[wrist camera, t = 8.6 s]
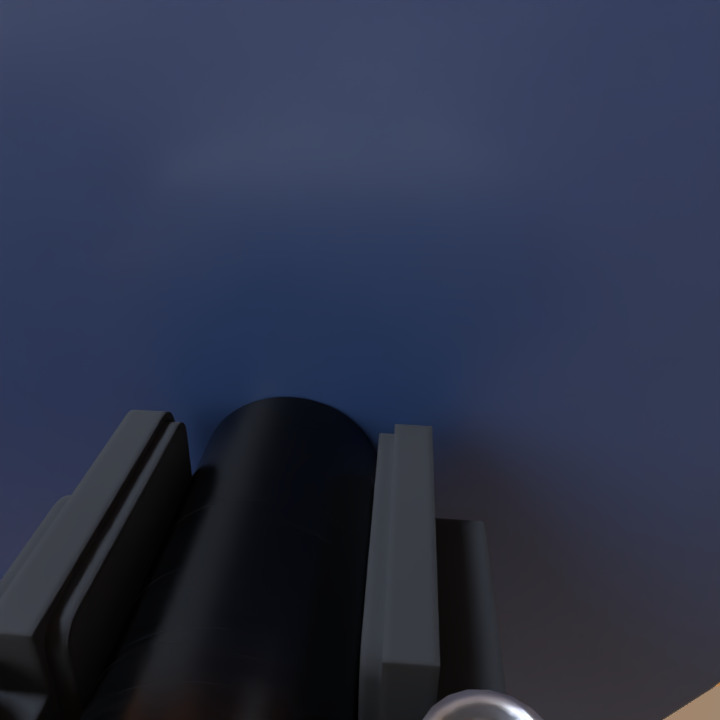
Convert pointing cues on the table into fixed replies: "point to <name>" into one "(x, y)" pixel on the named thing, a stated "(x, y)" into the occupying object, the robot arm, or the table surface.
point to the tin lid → (374, 325)
